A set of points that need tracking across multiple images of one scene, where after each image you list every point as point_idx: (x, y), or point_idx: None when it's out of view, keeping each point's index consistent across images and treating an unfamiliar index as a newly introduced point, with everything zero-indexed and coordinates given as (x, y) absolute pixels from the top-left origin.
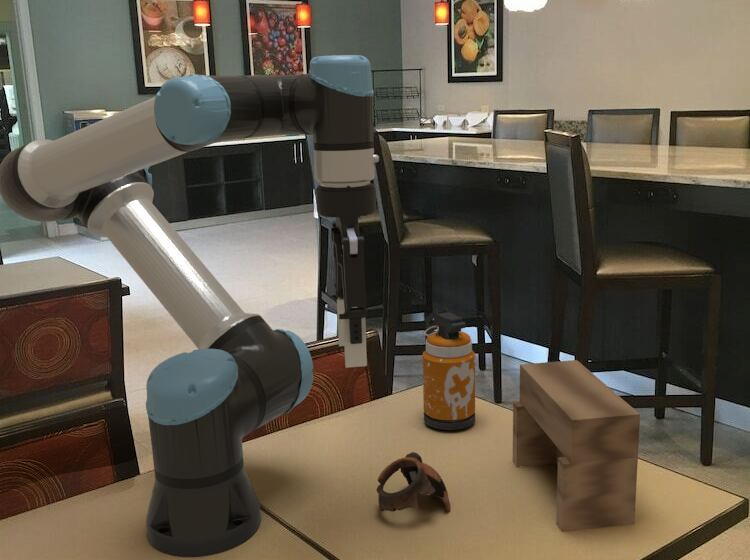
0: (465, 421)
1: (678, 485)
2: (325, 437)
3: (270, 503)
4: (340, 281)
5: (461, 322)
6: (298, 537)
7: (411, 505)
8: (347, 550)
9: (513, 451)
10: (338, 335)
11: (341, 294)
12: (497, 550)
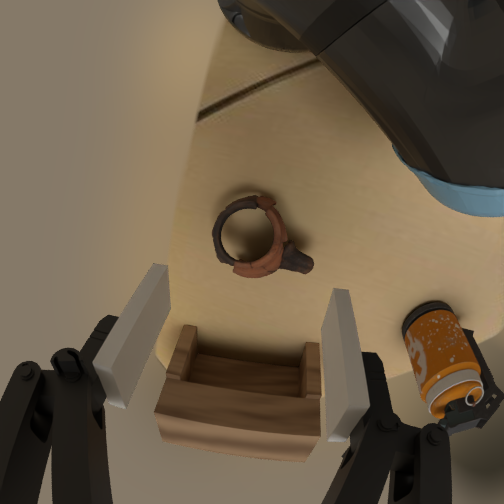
0: (403, 337)
1: None
2: None
3: None
4: (340, 484)
5: None
6: (237, 90)
7: (213, 228)
8: (196, 141)
9: (316, 352)
10: (345, 308)
11: (363, 430)
12: (169, 274)
